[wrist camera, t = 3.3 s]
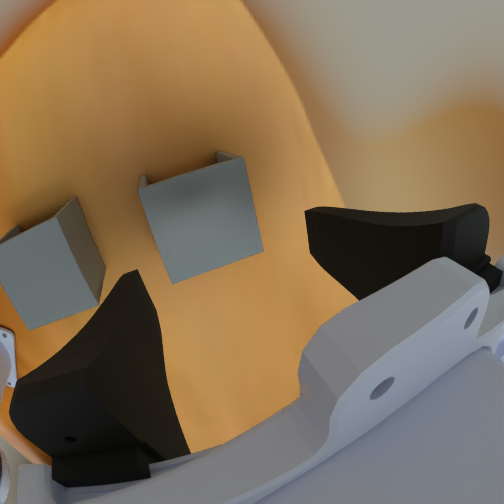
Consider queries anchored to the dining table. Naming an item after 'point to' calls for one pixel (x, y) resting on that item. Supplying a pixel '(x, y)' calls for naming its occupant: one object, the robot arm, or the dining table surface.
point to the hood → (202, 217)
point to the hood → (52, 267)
